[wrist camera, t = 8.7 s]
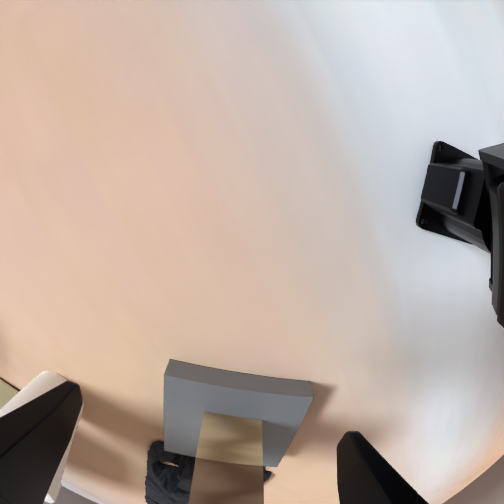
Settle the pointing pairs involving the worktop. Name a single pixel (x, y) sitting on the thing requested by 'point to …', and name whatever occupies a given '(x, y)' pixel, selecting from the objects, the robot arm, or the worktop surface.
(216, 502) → the walnut block
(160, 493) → the dark slate chunk
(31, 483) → the robot arm
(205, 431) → the oak block
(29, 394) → the foam cup
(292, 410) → the base
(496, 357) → the worktop surface
